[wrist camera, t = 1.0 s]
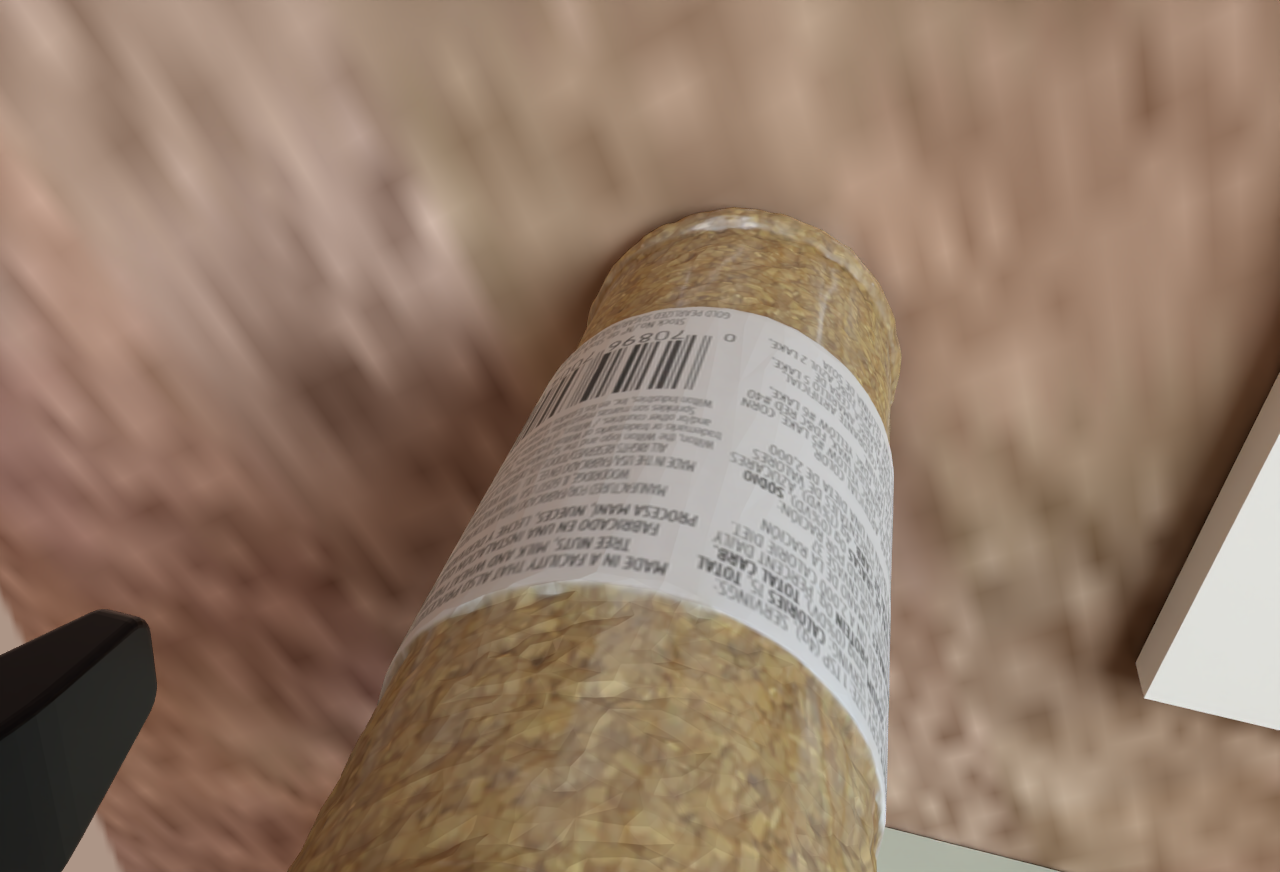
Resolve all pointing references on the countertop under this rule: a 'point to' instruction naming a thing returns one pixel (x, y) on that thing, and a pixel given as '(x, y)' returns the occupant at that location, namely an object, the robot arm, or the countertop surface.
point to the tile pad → (1228, 597)
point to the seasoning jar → (661, 592)
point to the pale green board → (940, 856)
